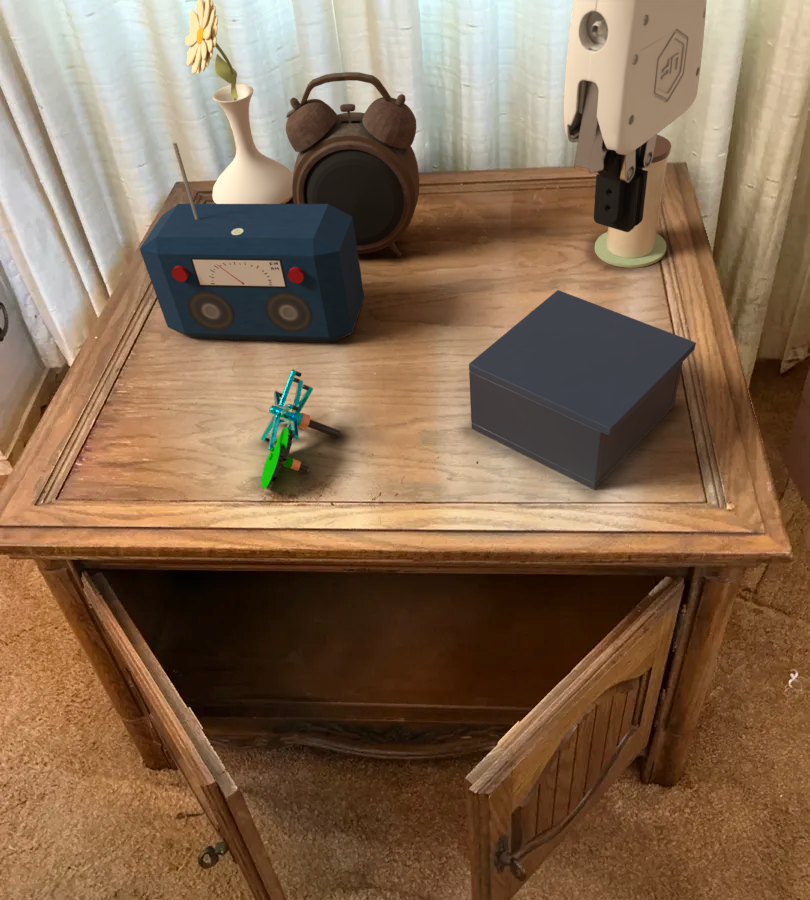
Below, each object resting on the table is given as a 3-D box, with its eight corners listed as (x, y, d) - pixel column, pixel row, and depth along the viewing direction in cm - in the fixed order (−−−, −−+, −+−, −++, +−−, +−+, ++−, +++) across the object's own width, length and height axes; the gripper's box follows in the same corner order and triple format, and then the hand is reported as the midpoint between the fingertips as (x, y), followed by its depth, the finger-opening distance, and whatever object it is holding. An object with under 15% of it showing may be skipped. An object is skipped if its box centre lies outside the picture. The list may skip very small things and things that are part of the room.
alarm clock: (302, 271, 101) (266, 95, 86) (310, 238, 105) (277, 66, 90) (424, 265, 99) (409, 85, 84) (427, 232, 104) (413, 56, 89)
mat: (665, 230, 99) (665, 227, 99) (666, 268, 94) (667, 265, 94) (595, 229, 101) (596, 226, 100) (593, 267, 96) (593, 264, 95)
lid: (694, 349, 74) (696, 342, 74) (609, 436, 68) (610, 428, 68) (557, 296, 81) (557, 289, 80) (468, 371, 75) (468, 363, 74)
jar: (656, 232, 99) (670, 132, 90) (656, 259, 95) (672, 158, 86) (605, 231, 100) (614, 132, 91) (603, 258, 96) (613, 158, 87)
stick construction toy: (264, 390, 83) (293, 352, 76) (329, 414, 86) (362, 379, 79) (240, 499, 78) (268, 468, 72) (309, 522, 81) (343, 494, 75)
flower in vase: (217, 186, 116) (161, -23, 98) (299, 175, 116) (259, -36, 98) (213, 235, 108) (150, 17, 89) (301, 223, 108) (258, 2, 89)
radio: (167, 345, 93) (101, 167, 78) (192, 298, 99) (136, 124, 84) (351, 351, 90) (319, 166, 75) (367, 303, 95) (341, 121, 80)
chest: (674, 405, 80) (686, 346, 75) (594, 490, 74) (601, 432, 69) (554, 355, 86) (557, 297, 81) (471, 428, 80) (468, 371, 75)
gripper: (630, -23, 44) (605, 285, 58) (764, -102, 51) (713, 192, 65) (514, -38, 48) (517, 255, 62) (652, -109, 55) (627, 169, 68)
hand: (617, 222), depth 63 cm, fingers closed
